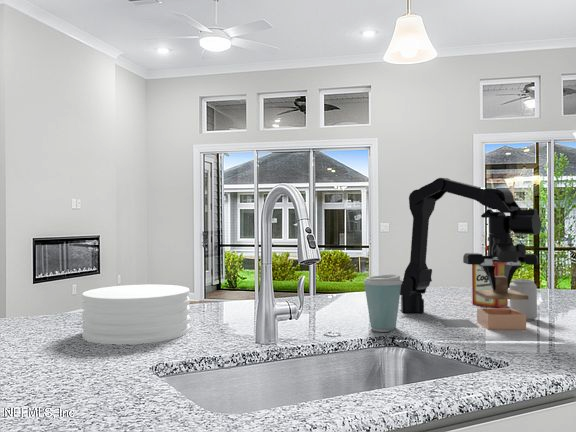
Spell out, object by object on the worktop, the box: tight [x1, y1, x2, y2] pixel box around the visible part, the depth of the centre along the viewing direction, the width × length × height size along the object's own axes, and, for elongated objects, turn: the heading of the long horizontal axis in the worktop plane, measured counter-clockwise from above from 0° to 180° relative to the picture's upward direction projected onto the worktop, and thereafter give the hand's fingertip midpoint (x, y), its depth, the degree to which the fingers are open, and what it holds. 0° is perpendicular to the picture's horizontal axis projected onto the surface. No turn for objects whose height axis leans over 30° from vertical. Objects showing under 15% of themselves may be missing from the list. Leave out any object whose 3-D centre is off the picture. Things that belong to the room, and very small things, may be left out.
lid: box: [474, 276, 528, 300], centre depth 143 cm, size 11×11×6 cm
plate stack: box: [81, 283, 191, 346], centre depth 140 cm, size 28×28×12 cm
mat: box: [437, 318, 479, 328], centre depth 147 cm, size 9×11×1 cm
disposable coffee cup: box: [363, 274, 403, 333], centre depth 142 cm, size 11×11×15 cm
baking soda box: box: [471, 262, 509, 309], centre depth 181 cm, size 10×6×16 cm
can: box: [509, 278, 538, 322], centre depth 155 cm, size 8×8×12 cm
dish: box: [476, 307, 527, 331], centre depth 143 cm, size 10×10×4 cm
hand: (500, 289), depth 143 cm, fingers closed on lid, 3 cm apart
